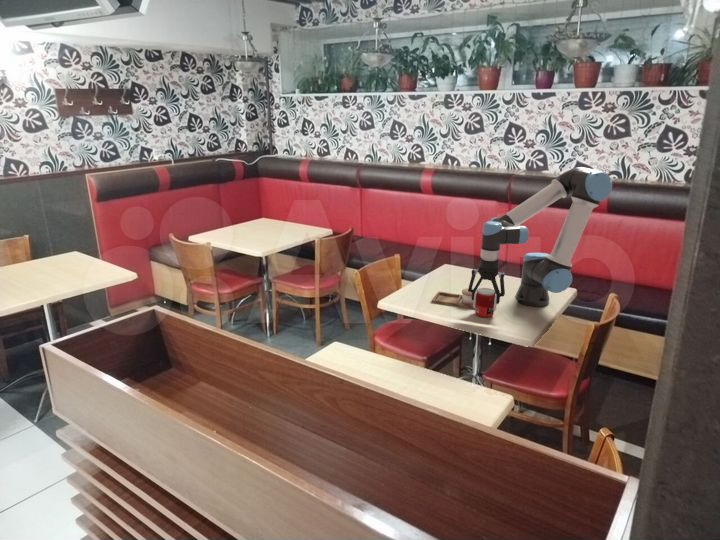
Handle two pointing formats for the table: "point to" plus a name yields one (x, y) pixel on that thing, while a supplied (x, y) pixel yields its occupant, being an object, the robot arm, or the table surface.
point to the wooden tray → (450, 299)
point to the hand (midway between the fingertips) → (484, 308)
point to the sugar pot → (467, 297)
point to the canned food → (485, 302)
